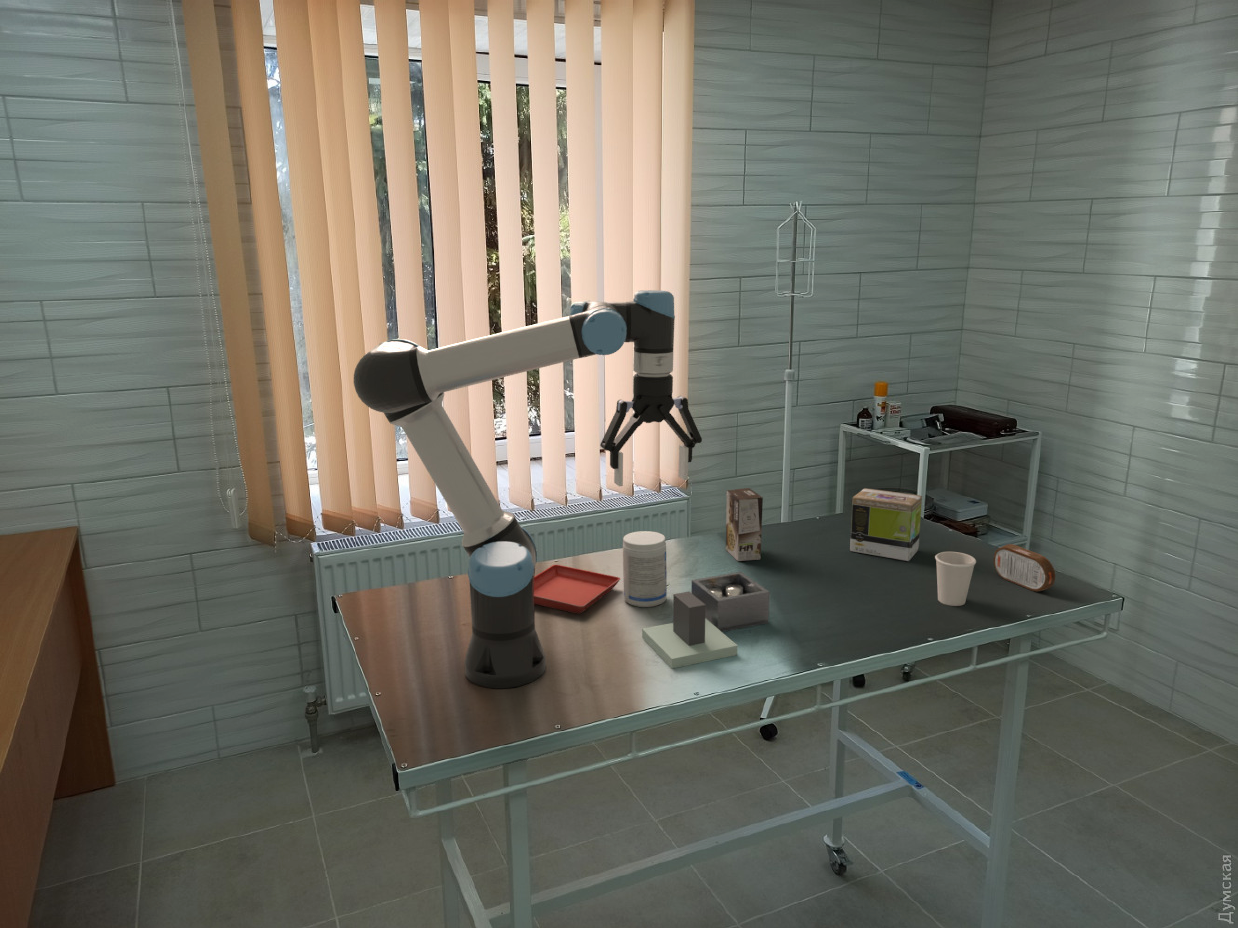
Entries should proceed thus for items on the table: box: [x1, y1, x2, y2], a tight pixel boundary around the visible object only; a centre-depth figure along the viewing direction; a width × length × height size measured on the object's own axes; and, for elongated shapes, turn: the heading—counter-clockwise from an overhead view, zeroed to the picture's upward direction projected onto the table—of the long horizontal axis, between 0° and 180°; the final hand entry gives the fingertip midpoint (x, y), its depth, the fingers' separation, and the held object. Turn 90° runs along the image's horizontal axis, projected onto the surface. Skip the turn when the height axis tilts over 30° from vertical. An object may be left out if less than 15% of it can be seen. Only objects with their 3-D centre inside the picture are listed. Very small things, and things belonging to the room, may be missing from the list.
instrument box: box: [690, 571, 770, 633], centre depth 189 cm, size 12×12×7 cm
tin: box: [993, 543, 1056, 592], centre depth 204 cm, size 15×3×8 cm, turn 27°
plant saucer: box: [534, 564, 621, 614], centre depth 201 cm, size 18×18×3 cm
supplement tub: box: [622, 530, 668, 608], centre depth 197 cm, size 10×10×15 cm
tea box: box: [849, 487, 923, 562], centre depth 225 cm, size 15×10×15 cm, turn 58°
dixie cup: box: [934, 551, 977, 607], centre depth 195 cm, size 8×8×10 cm
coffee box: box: [725, 487, 764, 562], centre depth 223 cm, size 9×6×16 cm
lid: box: [641, 591, 738, 669], centre depth 175 cm, size 14×14×10 cm
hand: (651, 481), depth 174 cm, fingers open, 13 cm apart
